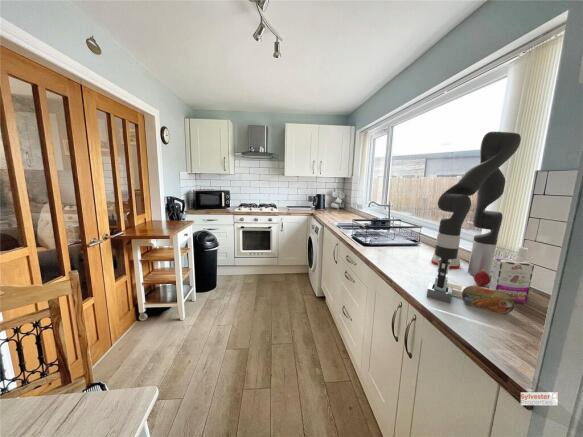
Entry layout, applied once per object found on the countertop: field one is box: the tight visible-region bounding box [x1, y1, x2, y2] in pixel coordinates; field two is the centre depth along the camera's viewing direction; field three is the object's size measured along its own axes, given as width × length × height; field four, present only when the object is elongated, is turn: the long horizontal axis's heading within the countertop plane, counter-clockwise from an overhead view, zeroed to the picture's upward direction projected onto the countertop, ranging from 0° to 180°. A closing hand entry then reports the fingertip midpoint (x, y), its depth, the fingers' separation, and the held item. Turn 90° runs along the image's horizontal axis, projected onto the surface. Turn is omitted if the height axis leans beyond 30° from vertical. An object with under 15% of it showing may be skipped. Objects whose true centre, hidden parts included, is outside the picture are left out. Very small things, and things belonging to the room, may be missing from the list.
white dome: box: [431, 252, 461, 270], centre depth 134 cm, size 14×14×15 cm
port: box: [426, 281, 453, 304], centre depth 95 cm, size 8×8×4 cm
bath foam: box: [511, 246, 531, 263], centre depth 103 cm, size 7×7×20 cm
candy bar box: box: [489, 257, 535, 304], centre depth 96 cm, size 11×5×16 cm, turn 77°
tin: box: [461, 285, 515, 315], centre depth 87 cm, size 15×3×8 cm, turn 62°
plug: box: [434, 273, 449, 292], centre depth 95 cm, size 4×4×9 cm
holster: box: [447, 281, 465, 299], centre depth 100 cm, size 7×7×3 cm
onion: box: [473, 270, 491, 287], centre depth 107 cm, size 6×6×8 cm
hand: (440, 283), depth 95 cm, fingers open, 8 cm apart
